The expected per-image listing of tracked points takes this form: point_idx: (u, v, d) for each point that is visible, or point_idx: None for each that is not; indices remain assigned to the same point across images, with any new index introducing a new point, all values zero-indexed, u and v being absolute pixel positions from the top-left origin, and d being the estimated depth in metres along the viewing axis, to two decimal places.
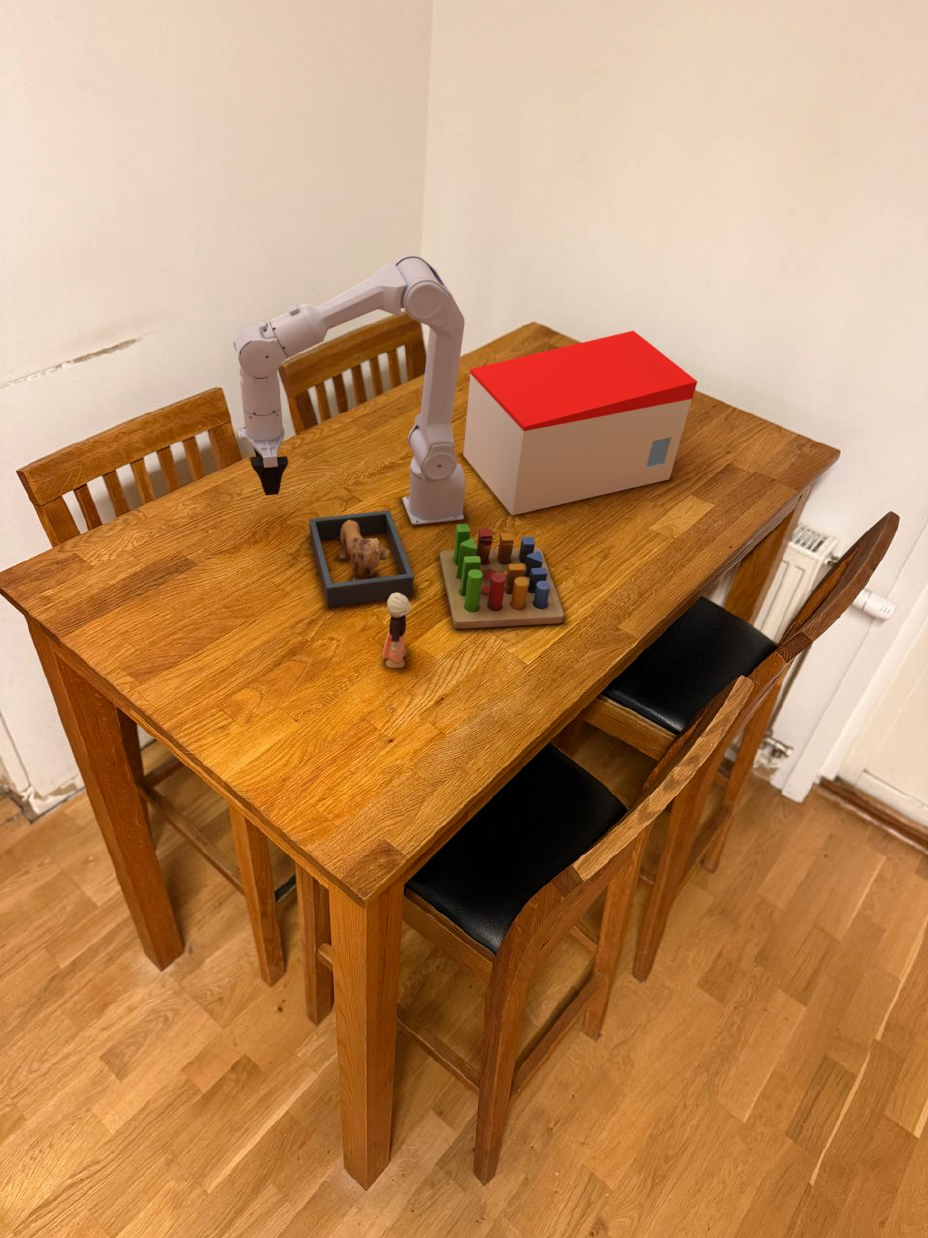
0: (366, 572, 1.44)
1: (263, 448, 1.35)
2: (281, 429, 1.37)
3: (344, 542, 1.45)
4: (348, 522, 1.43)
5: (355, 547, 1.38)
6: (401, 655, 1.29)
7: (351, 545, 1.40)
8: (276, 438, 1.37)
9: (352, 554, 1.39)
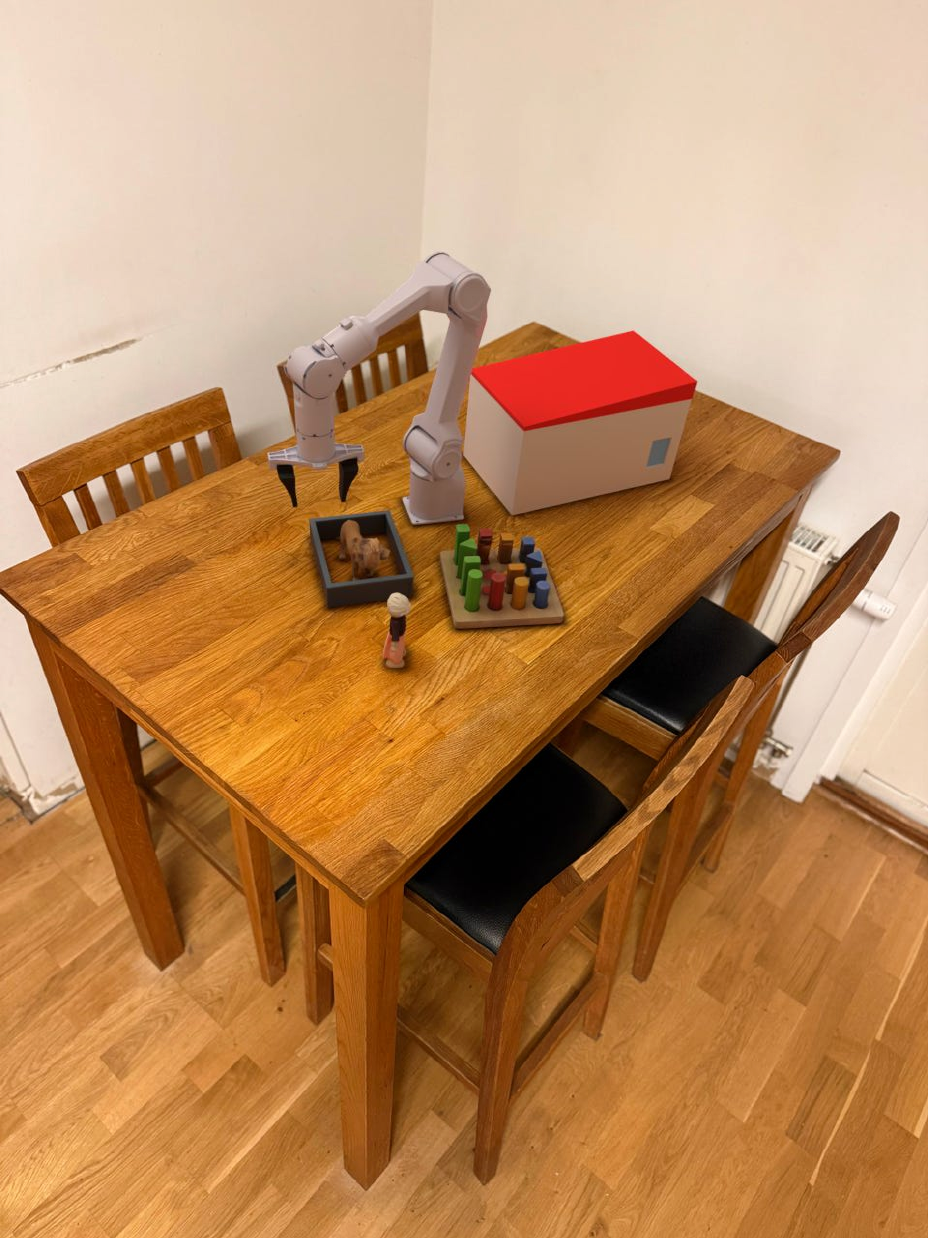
0: (366, 572, 1.44)
1: (347, 452, 1.36)
2: None
3: (344, 542, 1.45)
4: (348, 522, 1.43)
5: (355, 547, 1.38)
6: (401, 655, 1.29)
7: (351, 545, 1.40)
8: None
9: (352, 554, 1.39)
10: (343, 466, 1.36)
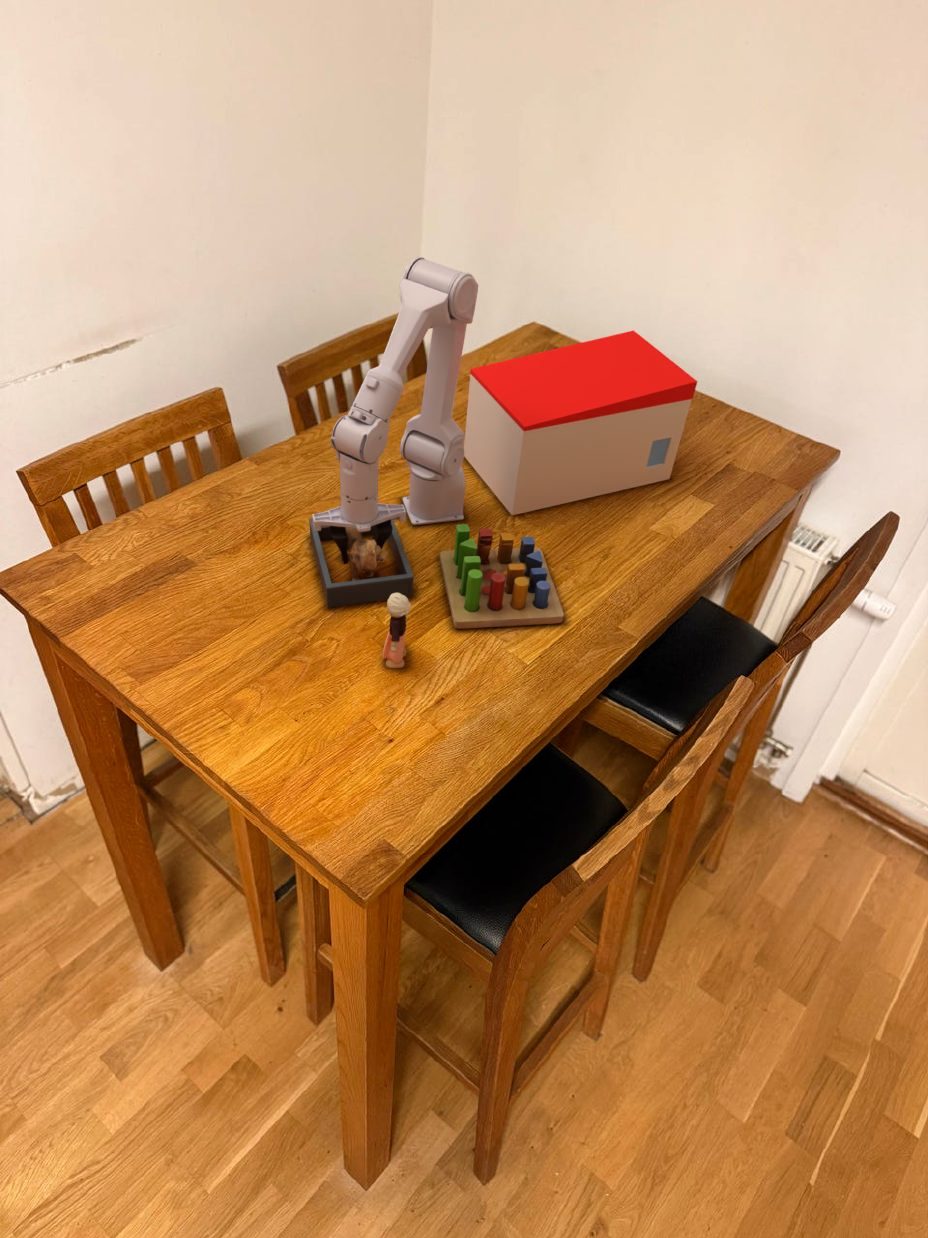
0: (366, 573, 1.43)
1: (390, 513, 1.39)
2: None
3: None
4: None
5: (353, 548, 1.38)
6: (401, 655, 1.29)
7: (350, 545, 1.40)
8: None
9: (350, 555, 1.39)
10: (377, 527, 1.39)
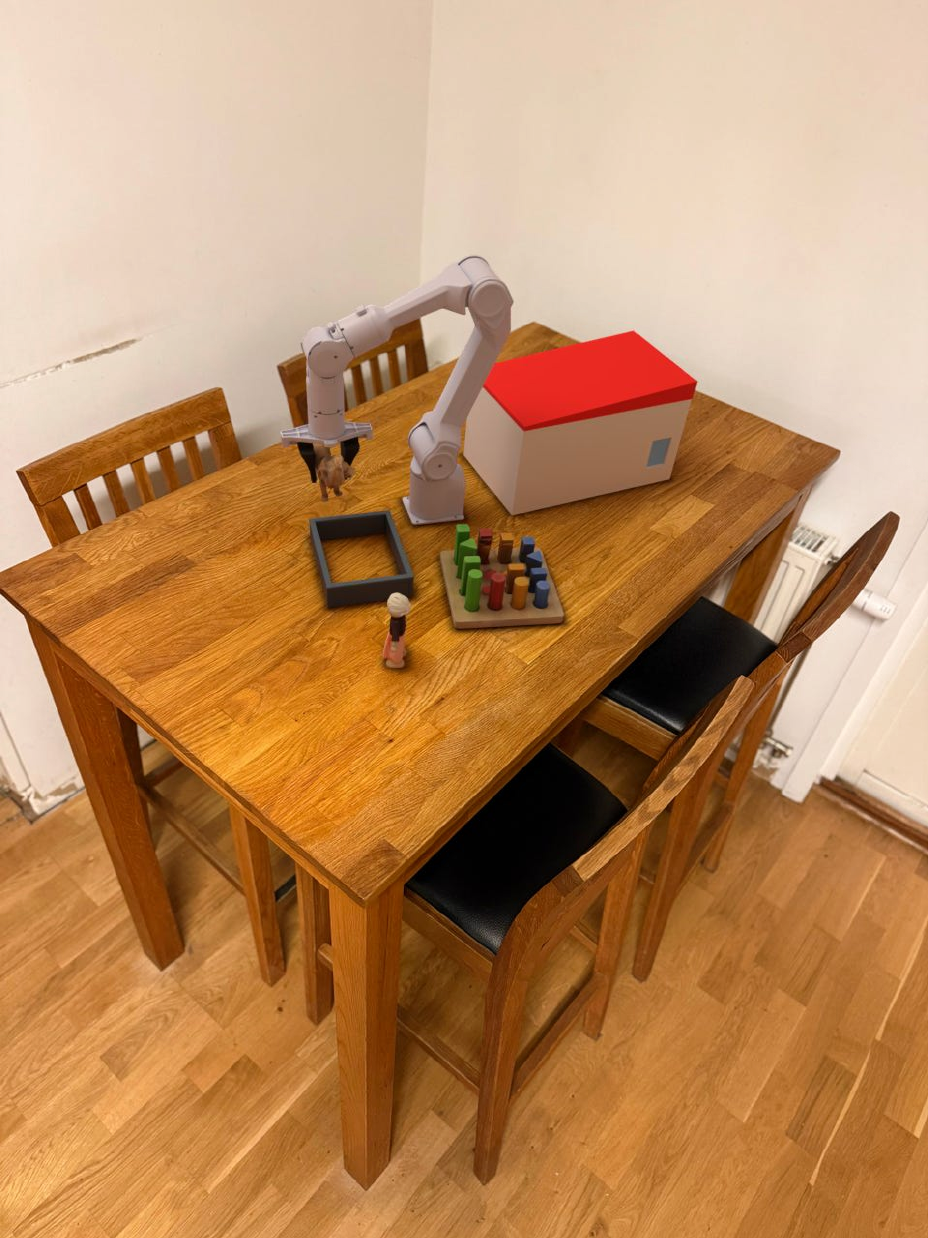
0: (335, 492, 1.46)
1: (357, 430, 1.42)
2: None
3: (315, 462, 1.47)
4: None
5: (321, 464, 1.41)
6: (401, 655, 1.29)
7: (318, 463, 1.43)
8: None
9: (318, 471, 1.41)
10: (345, 444, 1.42)
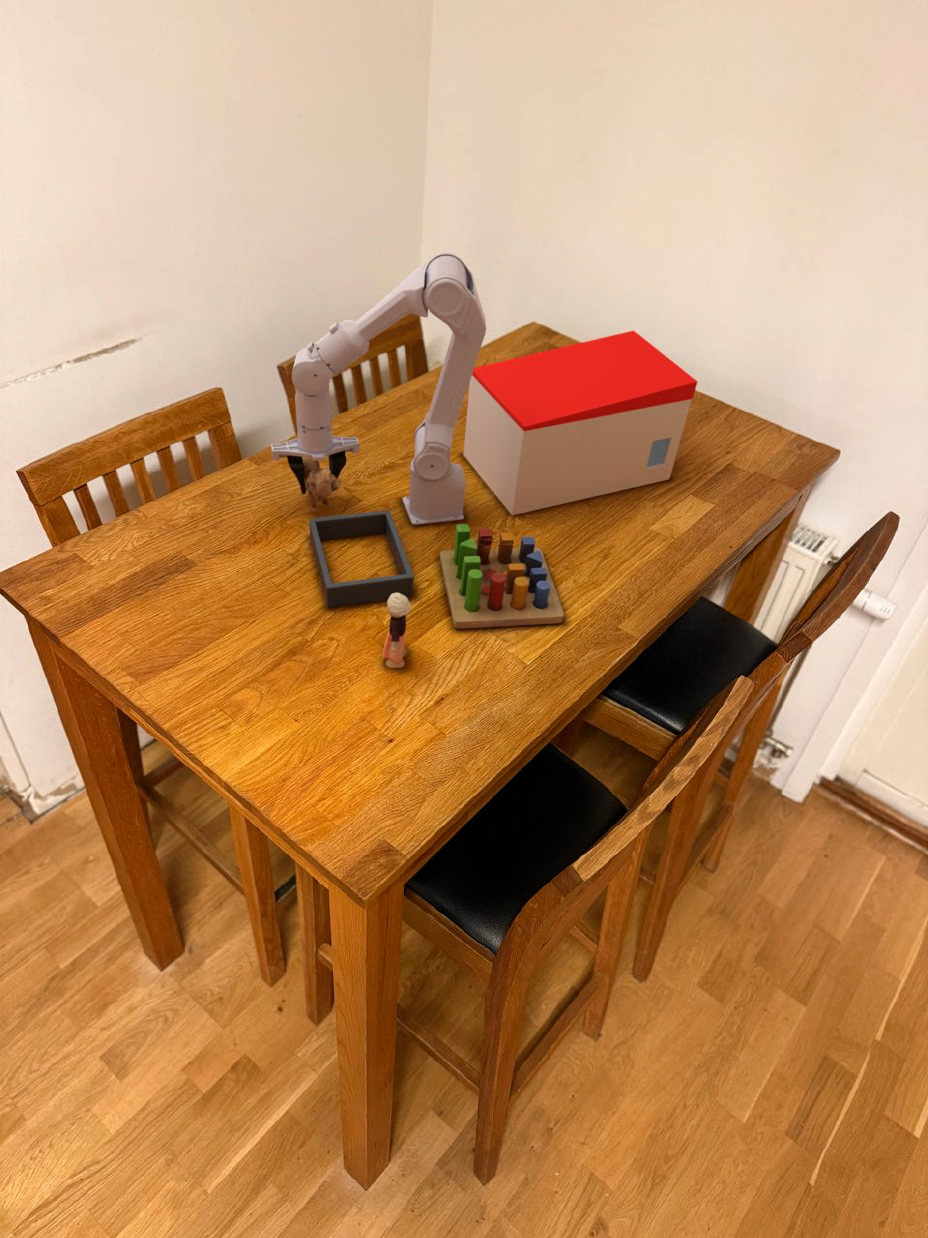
0: (323, 502, 1.54)
1: (344, 444, 1.49)
2: None
3: (304, 474, 1.55)
4: None
5: (309, 476, 1.48)
6: (401, 655, 1.29)
7: (307, 475, 1.50)
8: None
9: (307, 483, 1.49)
10: (332, 457, 1.49)
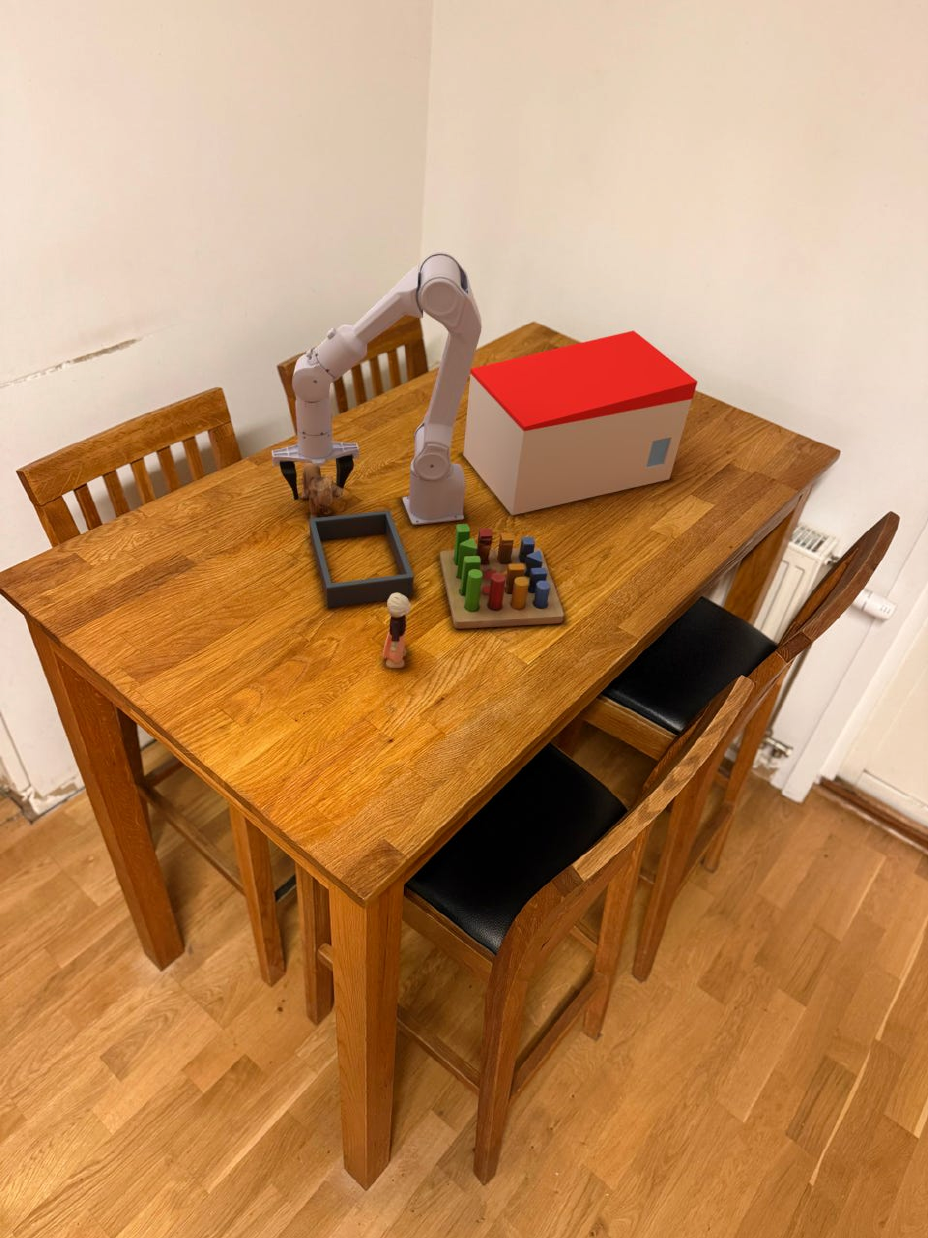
0: (323, 510, 1.55)
1: (344, 450, 1.50)
2: None
3: (305, 482, 1.56)
4: (309, 463, 1.55)
5: (311, 484, 1.49)
6: (401, 655, 1.29)
7: (309, 483, 1.52)
8: None
9: (308, 491, 1.50)
10: (340, 462, 1.51)
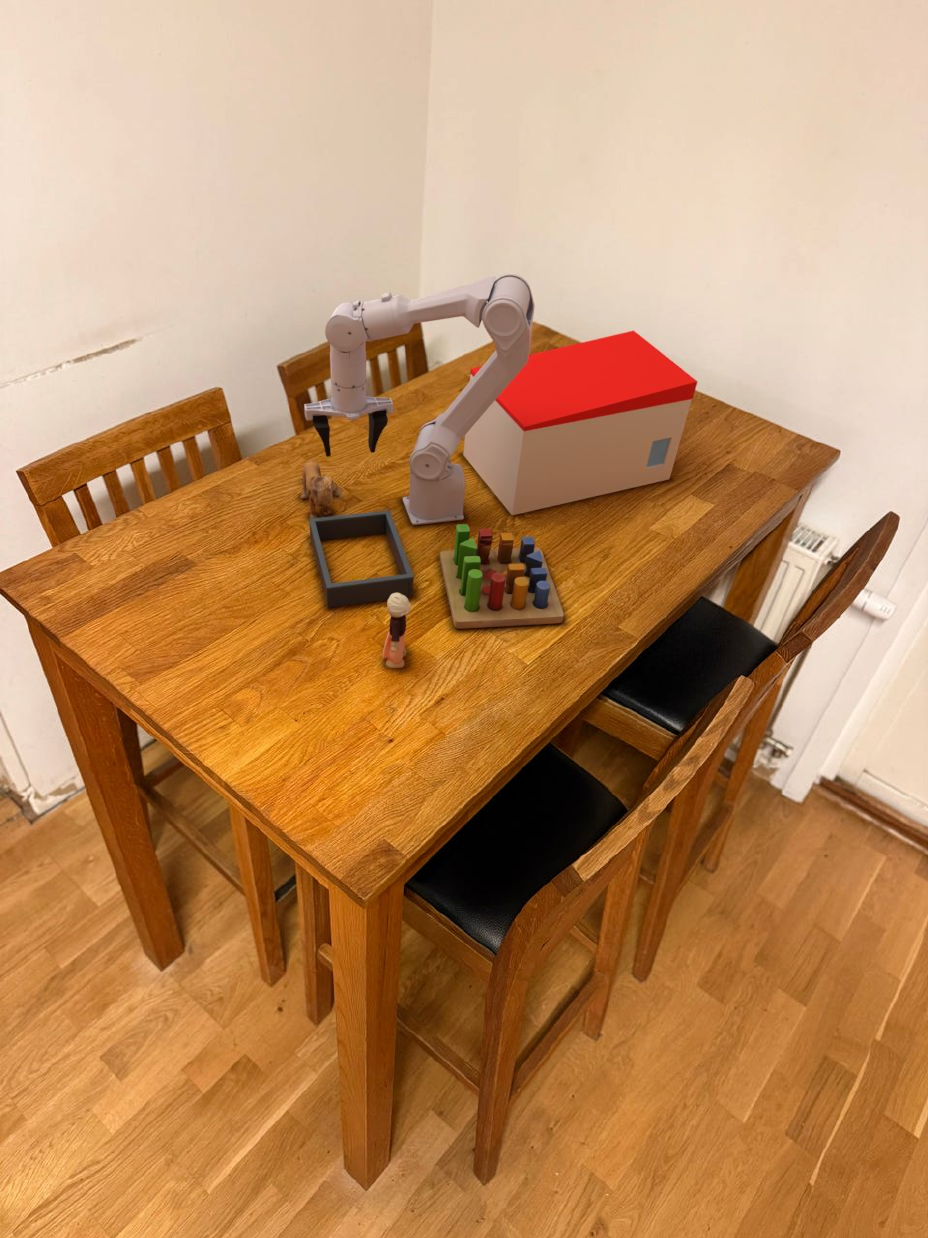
0: (323, 510, 1.55)
1: (377, 404, 1.47)
2: None
3: (305, 482, 1.56)
4: (309, 463, 1.55)
5: (311, 484, 1.49)
6: (401, 655, 1.29)
7: (309, 483, 1.52)
8: None
9: (308, 491, 1.50)
10: (373, 417, 1.48)
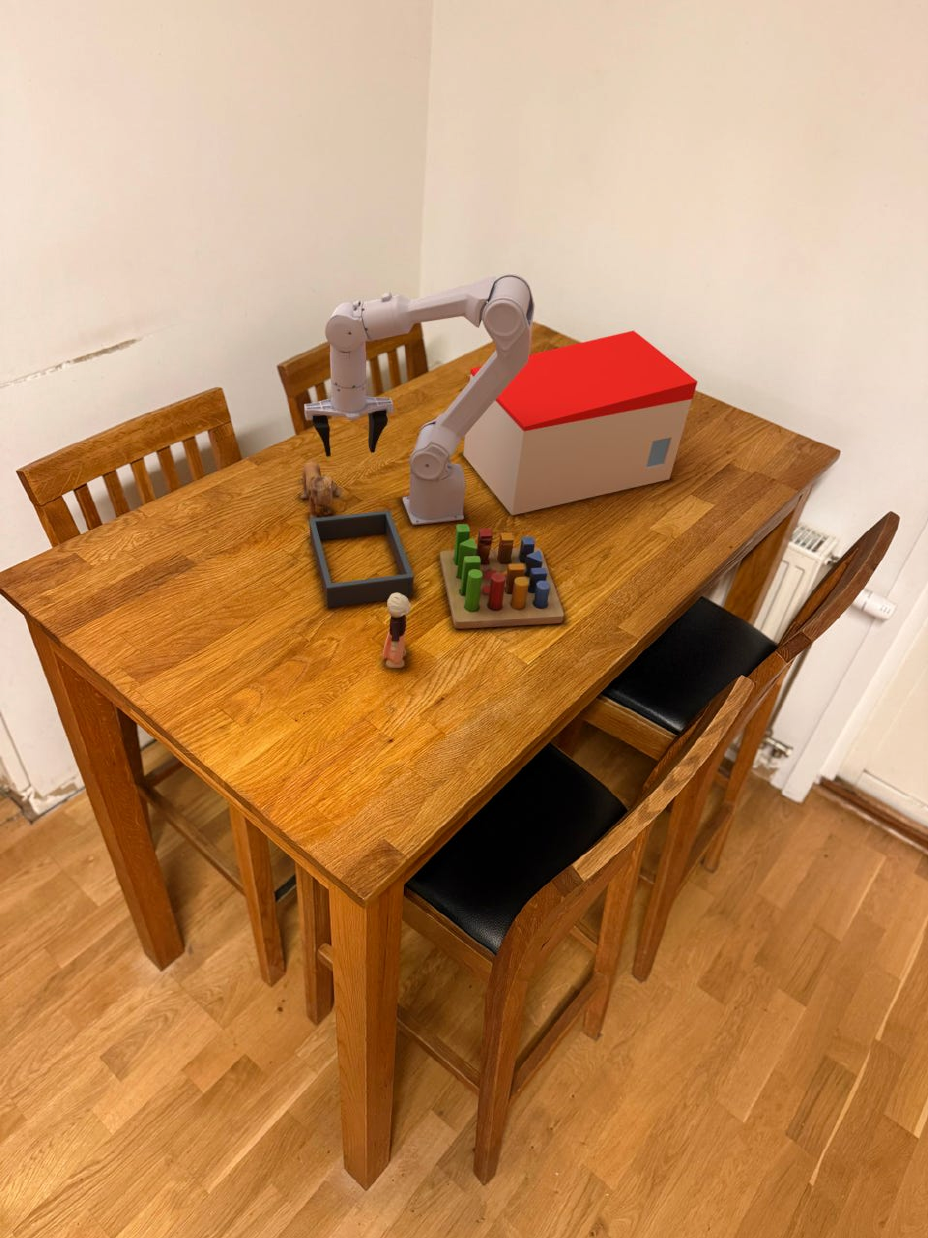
0: (323, 510, 1.55)
1: (377, 404, 1.47)
2: None
3: (305, 482, 1.56)
4: (309, 463, 1.55)
5: (311, 484, 1.49)
6: (401, 655, 1.29)
7: (309, 483, 1.52)
8: None
9: (308, 491, 1.50)
10: (373, 417, 1.48)
